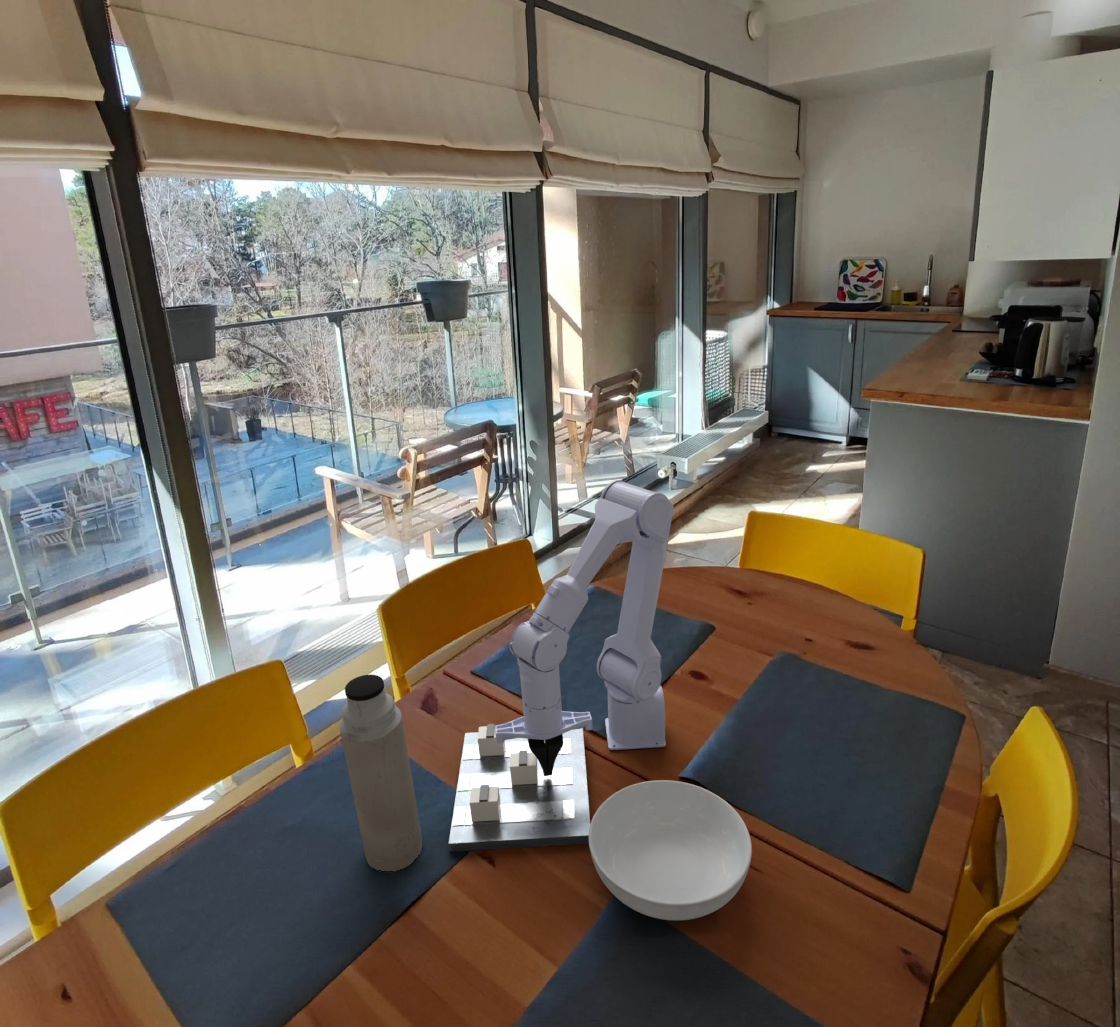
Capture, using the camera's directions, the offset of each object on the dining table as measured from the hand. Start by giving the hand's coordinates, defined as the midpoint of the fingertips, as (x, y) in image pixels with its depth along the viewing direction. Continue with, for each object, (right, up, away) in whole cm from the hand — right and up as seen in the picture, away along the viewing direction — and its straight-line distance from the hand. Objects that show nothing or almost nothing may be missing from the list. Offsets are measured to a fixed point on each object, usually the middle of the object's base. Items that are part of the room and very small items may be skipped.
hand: (547, 771), depth 114 cm
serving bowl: (+17, -9, -16) cm, 24 cm away
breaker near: (-9, -4, -6) cm, 11 cm away
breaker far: (-9, +1, +7) cm, 11 cm away
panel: (-4, -3, +1) cm, 5 cm away
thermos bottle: (-22, -8, -9) cm, 25 cm away
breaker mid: (-3, -1, 0) cm, 4 cm away
